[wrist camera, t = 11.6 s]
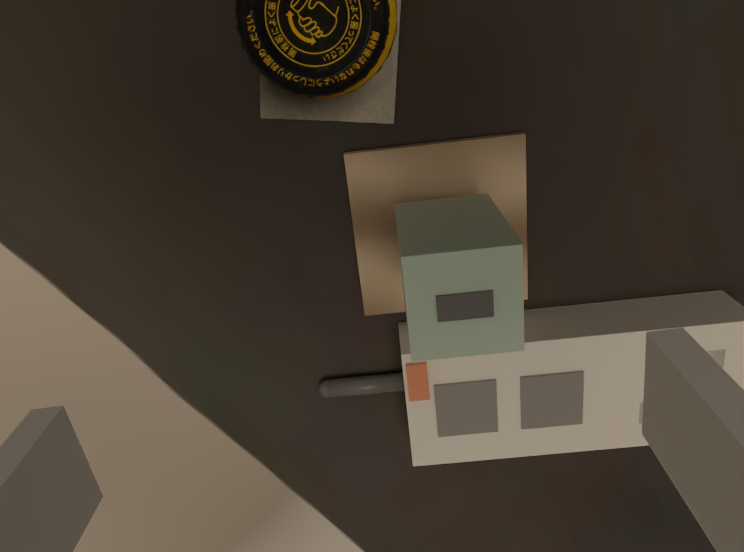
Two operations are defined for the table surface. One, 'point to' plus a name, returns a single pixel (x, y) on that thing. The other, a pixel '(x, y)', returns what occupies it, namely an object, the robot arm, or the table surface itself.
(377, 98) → the condiment
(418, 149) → the cork coaster
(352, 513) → the table surface
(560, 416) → the power strip
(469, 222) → the block
